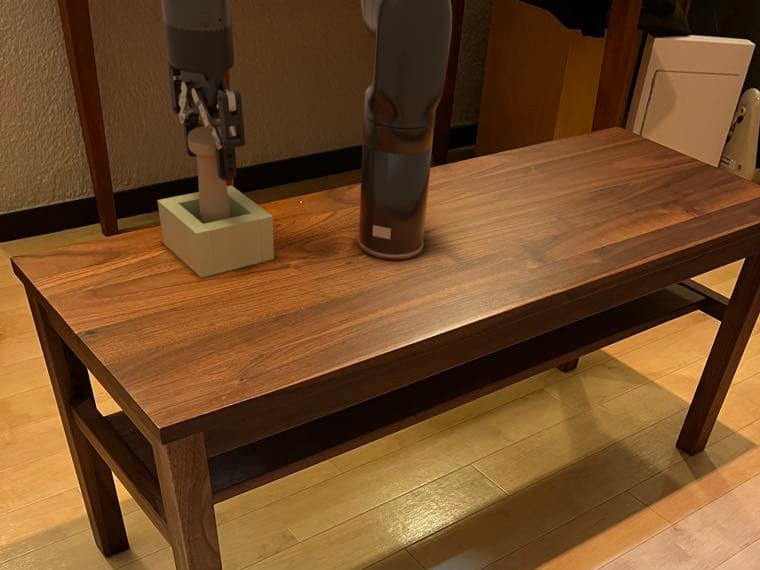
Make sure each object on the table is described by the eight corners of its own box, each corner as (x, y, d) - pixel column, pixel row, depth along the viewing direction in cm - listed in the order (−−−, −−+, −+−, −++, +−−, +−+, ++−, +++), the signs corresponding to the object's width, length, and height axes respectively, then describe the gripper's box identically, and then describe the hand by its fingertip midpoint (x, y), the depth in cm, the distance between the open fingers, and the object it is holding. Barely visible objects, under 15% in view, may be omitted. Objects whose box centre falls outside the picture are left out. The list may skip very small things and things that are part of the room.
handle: (198, 262, 107) (185, 144, 96) (202, 240, 111) (190, 125, 101) (235, 263, 107) (226, 146, 97) (237, 241, 112) (229, 127, 101)
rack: (234, 227, 115) (231, 185, 111) (274, 259, 109) (272, 215, 105) (163, 243, 110) (157, 200, 105) (201, 278, 104) (196, 233, 100)
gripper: (259, 31, 88) (265, 181, 99) (198, 0, 95) (211, 143, 107) (196, 38, 84) (211, 193, 96) (138, 4, 92) (158, 152, 103)
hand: (211, 166), depth 101 cm, fingers open, 8 cm apart
